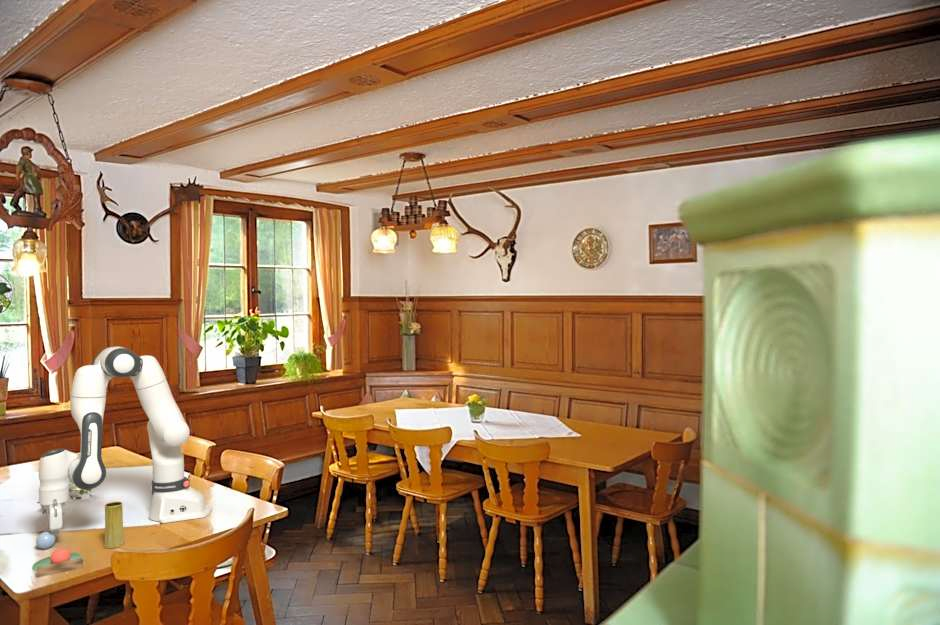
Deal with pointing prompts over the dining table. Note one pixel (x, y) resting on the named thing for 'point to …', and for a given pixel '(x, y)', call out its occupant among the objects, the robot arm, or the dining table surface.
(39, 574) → the walnut stop
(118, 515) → the vase
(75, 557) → the green mark
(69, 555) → the red ball
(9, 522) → the dining table surface
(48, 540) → the blue ball
